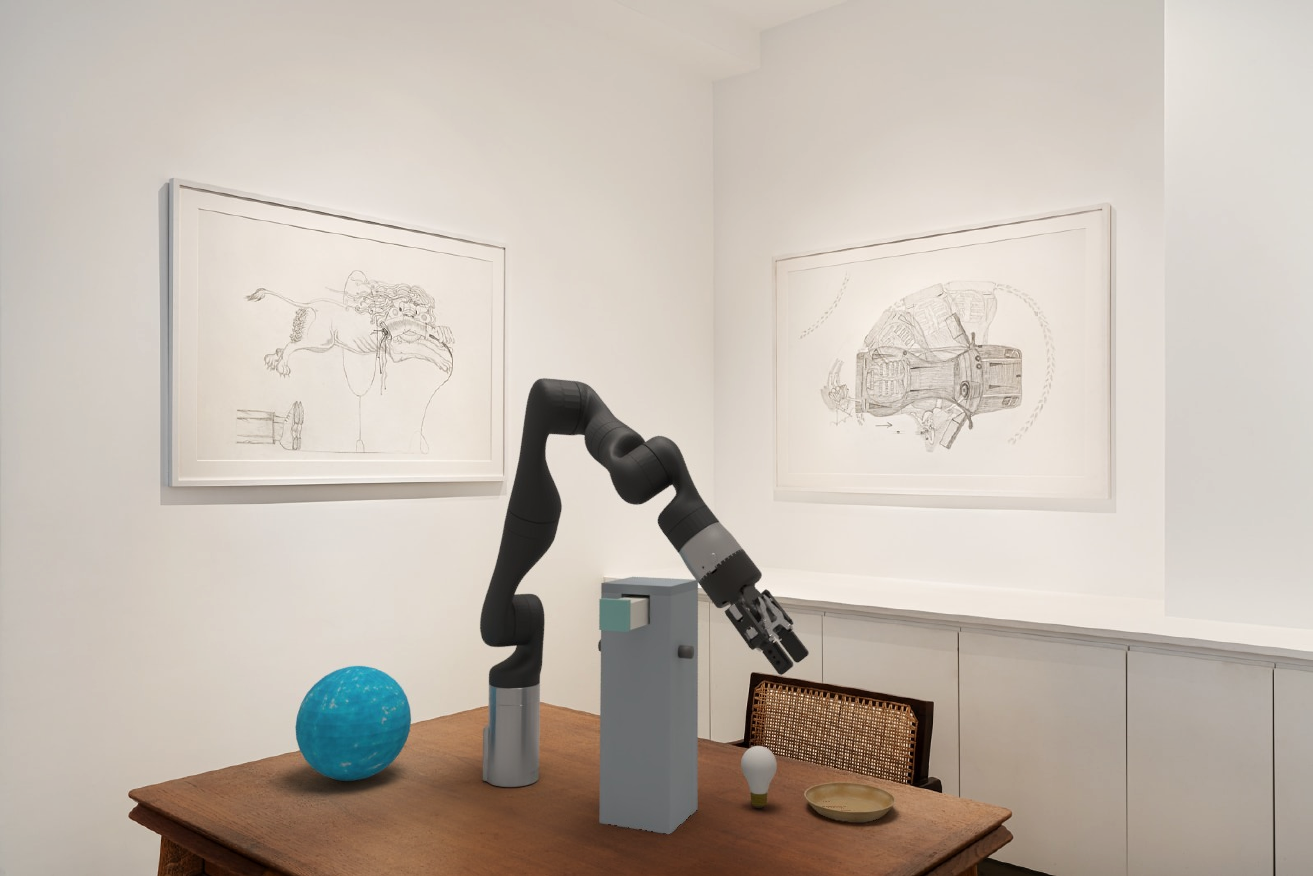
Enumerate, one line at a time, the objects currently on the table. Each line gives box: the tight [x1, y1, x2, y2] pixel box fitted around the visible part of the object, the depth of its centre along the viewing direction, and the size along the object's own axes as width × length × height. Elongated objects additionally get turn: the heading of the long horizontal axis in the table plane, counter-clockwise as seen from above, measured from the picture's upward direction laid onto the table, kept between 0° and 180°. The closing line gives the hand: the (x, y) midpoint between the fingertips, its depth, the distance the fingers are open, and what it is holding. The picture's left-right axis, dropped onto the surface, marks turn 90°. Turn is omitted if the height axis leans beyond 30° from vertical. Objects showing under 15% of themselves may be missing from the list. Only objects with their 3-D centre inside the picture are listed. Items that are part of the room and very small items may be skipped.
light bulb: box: [740, 745, 778, 809], centre depth 153 cm, size 6×6×10 cm
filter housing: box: [597, 576, 699, 835], centre depth 150 cm, size 16×12×38 cm
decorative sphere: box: [294, 665, 412, 782], centre depth 168 cm, size 20×20×20 cm
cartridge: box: [598, 594, 650, 632], centre depth 146 cm, size 5×19×5 cm, turn 157°
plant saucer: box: [803, 781, 897, 823], centre depth 152 cm, size 15×15×3 cm
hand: (795, 664), depth 119 cm, fingers open, 8 cm apart
